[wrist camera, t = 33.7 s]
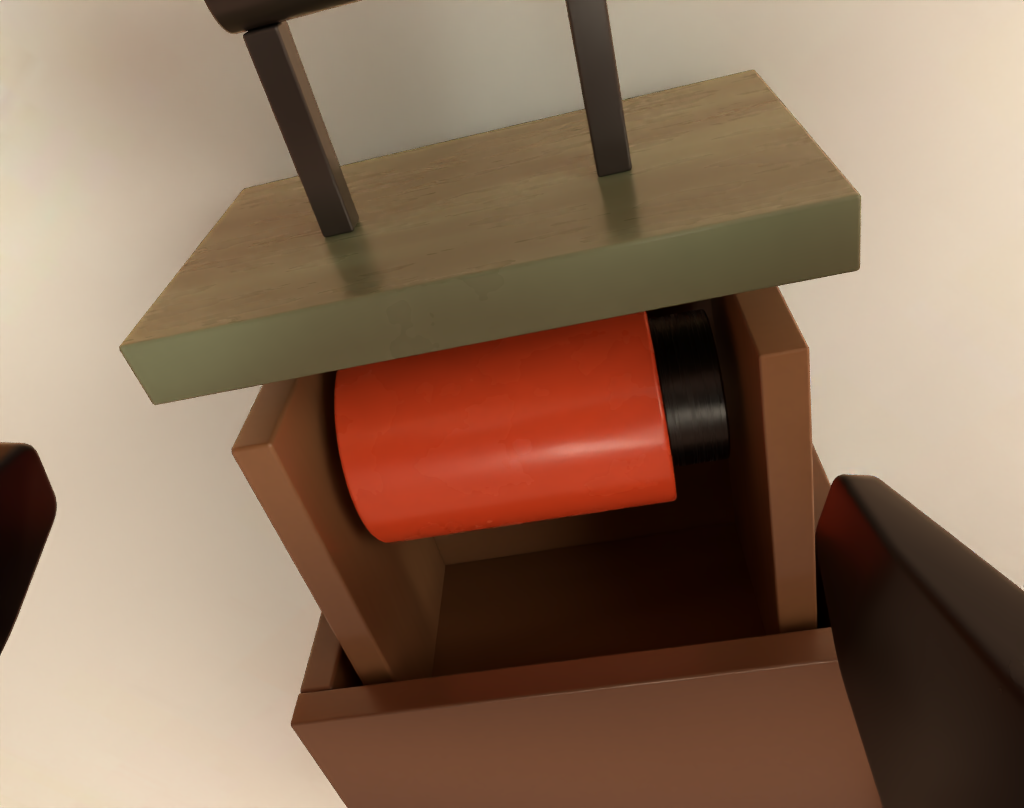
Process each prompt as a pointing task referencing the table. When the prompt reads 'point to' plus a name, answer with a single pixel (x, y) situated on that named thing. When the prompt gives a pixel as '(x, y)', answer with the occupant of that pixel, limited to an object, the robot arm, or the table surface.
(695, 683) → the cabinet
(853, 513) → the robot arm
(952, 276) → the table surface
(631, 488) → the bottle
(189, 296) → the drawer
